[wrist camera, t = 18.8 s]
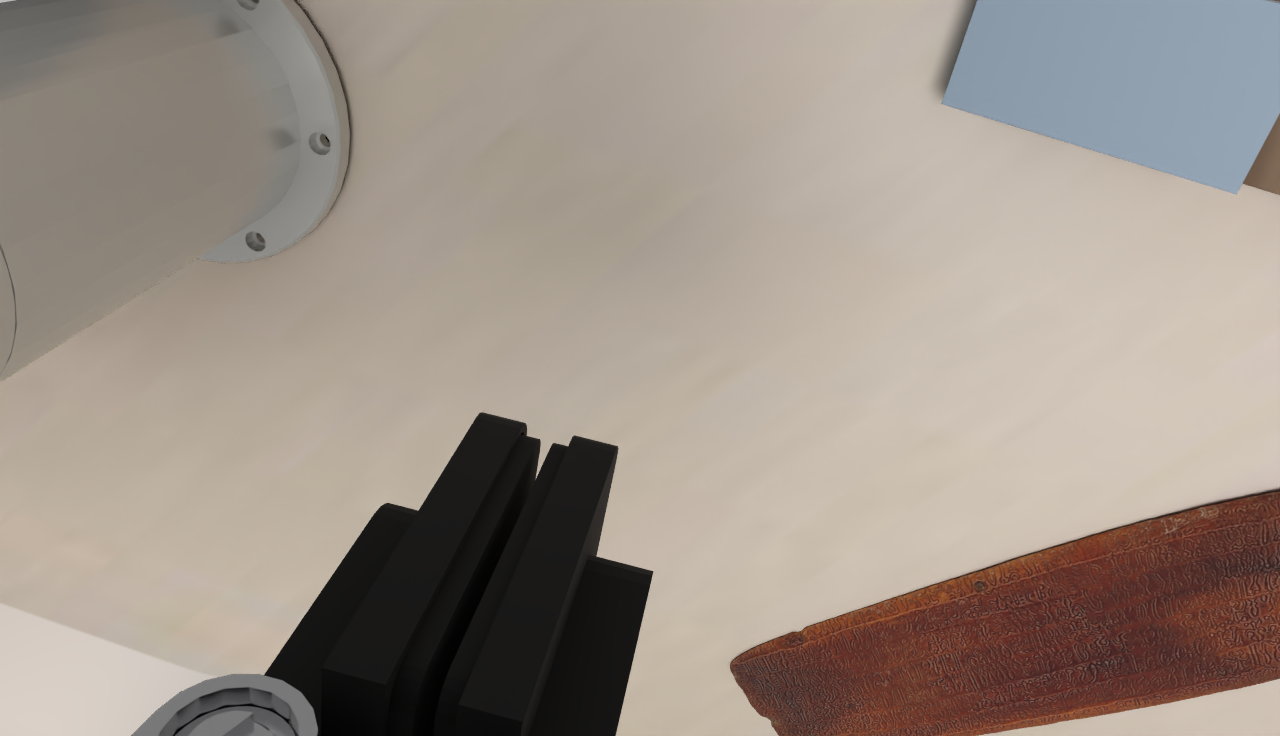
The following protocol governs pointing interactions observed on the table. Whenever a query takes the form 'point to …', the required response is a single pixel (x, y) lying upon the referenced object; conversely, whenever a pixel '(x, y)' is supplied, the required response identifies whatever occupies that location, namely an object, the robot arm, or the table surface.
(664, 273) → the table surface
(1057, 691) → the wooden tablet
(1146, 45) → the domino
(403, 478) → the table surface
